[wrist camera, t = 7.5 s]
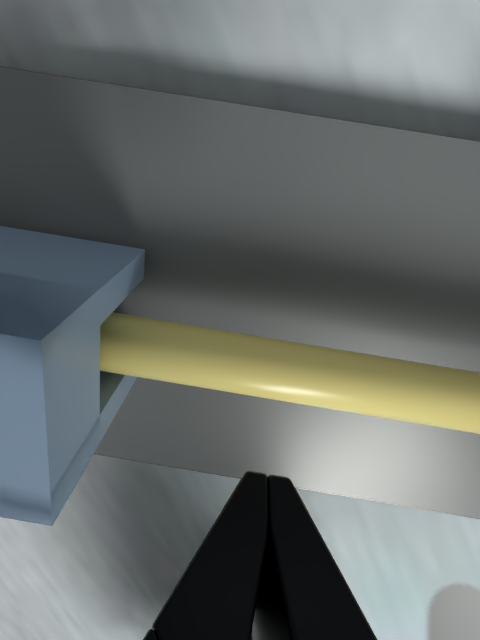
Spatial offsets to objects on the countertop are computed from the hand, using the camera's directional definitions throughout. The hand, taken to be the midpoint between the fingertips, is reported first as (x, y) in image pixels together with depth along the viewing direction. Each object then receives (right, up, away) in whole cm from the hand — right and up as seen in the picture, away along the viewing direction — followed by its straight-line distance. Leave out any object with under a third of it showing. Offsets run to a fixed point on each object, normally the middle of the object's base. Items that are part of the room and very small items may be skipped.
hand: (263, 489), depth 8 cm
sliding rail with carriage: (0, +3, +8) cm, 9 cm away
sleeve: (-6, +4, +7) cm, 10 cm away
